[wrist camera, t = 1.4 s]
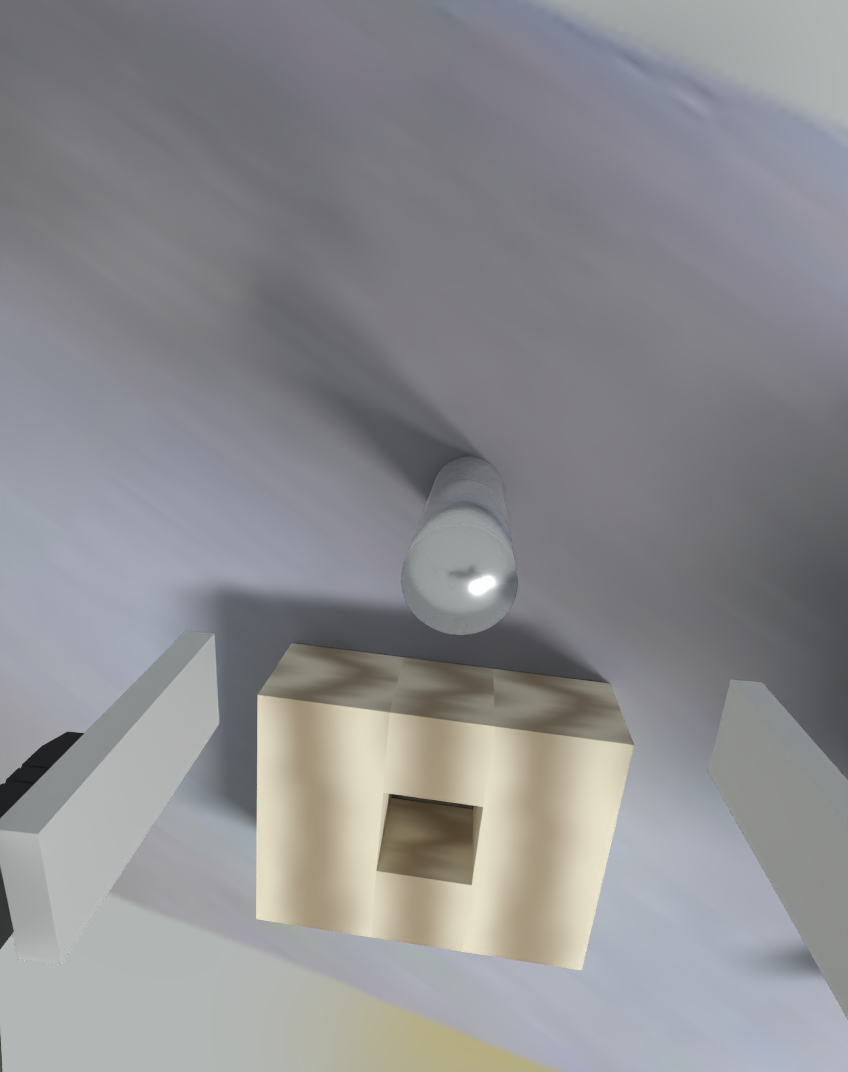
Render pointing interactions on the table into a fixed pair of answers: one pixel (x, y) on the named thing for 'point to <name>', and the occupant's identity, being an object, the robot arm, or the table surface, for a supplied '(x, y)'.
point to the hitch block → (430, 829)
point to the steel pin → (462, 552)
